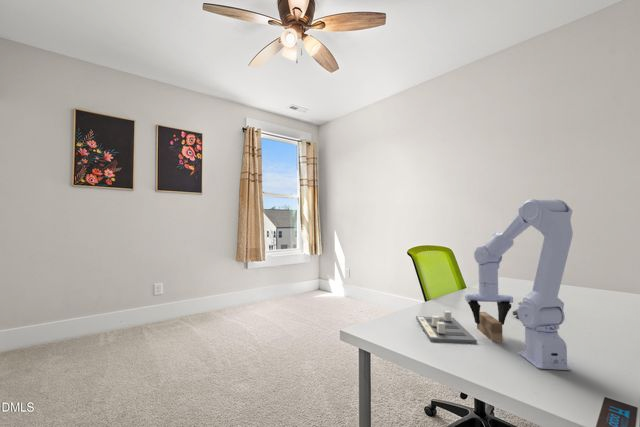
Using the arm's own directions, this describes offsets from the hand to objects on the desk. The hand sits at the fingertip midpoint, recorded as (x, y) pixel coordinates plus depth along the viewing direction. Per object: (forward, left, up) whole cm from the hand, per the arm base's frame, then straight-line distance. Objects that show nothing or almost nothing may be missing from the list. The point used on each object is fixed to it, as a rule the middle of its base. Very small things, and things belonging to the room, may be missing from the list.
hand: (489, 323), depth 100 cm
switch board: (+3, +14, -4) cm, 15 cm away
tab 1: (+3, +17, -2) cm, 17 cm away
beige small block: (-3, +17, -2) cm, 17 cm away
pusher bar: (0, 0, -4) cm, 4 cm away
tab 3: (+10, +11, -2) cm, 15 cm away
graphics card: (+24, -25, -5) cm, 35 cm away
